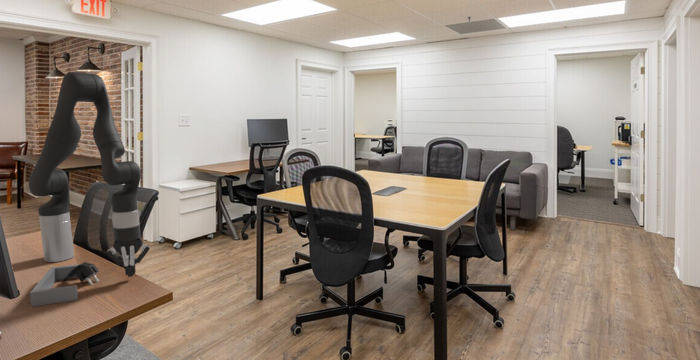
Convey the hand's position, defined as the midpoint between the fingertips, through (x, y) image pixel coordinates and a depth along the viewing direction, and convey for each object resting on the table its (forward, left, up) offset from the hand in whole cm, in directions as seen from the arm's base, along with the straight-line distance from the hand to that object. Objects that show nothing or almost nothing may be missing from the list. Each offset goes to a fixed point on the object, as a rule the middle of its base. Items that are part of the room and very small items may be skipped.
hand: (130, 275), depth 137 cm
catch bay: (0, -18, -1) cm, 18 cm away
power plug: (-4, -15, -2) cm, 16 cm away
